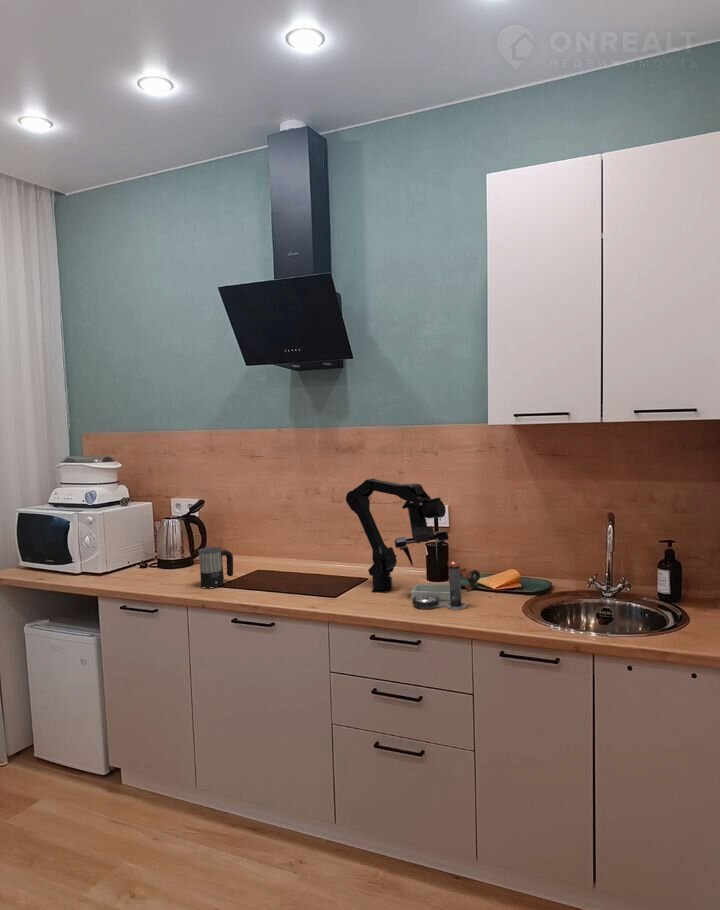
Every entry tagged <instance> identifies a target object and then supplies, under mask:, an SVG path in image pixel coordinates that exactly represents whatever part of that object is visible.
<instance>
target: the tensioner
mask: <svg viewBox="0 0 720 910" xmlns="http://www.w3.org/2000/svg"><path fill="white" fill-rule="evenodd" d="M411 601H412V605H414V606H415V608H418V609H423V610H428V609H434V608H445V609H447V610H452V611H455V610H457V611H460V610H463V609H466V608H467V603H466V602H463V601H461V606H459V607H452V606H450V601H447V602H440V601H439V597H436V596H433V595H421V596H417V597H414V598H413V600H411Z"/></svg>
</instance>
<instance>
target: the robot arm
mask: <svg viewBox="0 0 720 910" xmlns="http://www.w3.org/2000/svg"><path fill="white" fill-rule="evenodd" d="M374 492H379V493H383V494H389V495H393V496H396V497H399V499H401V500H403V501H405V502H404V504H403V505H402V506H401V508H402V509H407V511H408V518H409V523H410V524H409V525H410V529H411V535H412V537H410V538H406V537H405V536H403V537H398V538H397V537H396V538H395V539H394V547H395V548H396V549H399V550H400V551H401V550H403V552H404V554H405V555H406V557H407V559H408V561H409V563H410V565H411V566H414V565H413V564H414V563H413V559H412V557H411V553H410V550H409V547H408V545H409V544H420V543H428V542H430V541H433V540H434V541H435V551H436V552H435V553H436V554H435V555H436V561H437V562H439V561H440V554H441V549H442V546H443V544H445V543H446V541H449V540H450V539H449V534H448V531H446V530H440V531H435V532H434V527H433V525H431V526H428V523H427V519H437V518H443V517H444V516H445V515H446V513H447V512H446V505H445V504H444V502H443V501H442V500H441V497H435V498H431V497H430V495H429V494H428V493H427V492H426V491H425V489H424V487H423V486H422V484H421V483H402V484H401V483H397V482H390V481H385V480H382V479H381V480H379V479H376V478H368V479H365V480H364V481H363V482H362V483H361V484H359V485H358V486H357V487H355V488H354V489H352V490H349V491H348V492H347V494H346V497H345V501H346V503H347V505H348V507H349V508H350V509H351V510H352V511H353V513H354V514H356V515H357V517H358V519H359V522H360V525H361V526H362V529H363V530H364V531H363V532H364V533H365V535H366V538H367V540H368V542H369V545H370V548H371V550H372V559H371V560H372V563H373V564H372V565H371V566H370V567H369V568H368V574H369V576H372V577H371V578H372V590H371V592H373V593H390V591H391V590H392V589H393V588H394V587H393V577H392V575H391V573H393V572H394V569H395V567H396V566H397V562H398V561H397V557H398V555H396V554H395V551H394V548H393V547H392V546H391V547H388V546H387V545H386V544H385V541H384V540H383V538H382V536H381V533H380V531H379V529H378V526H377V523H376V521H375V519H374V517H373V514H372V512H371V510H370V505H371V504H370V502H371V501H370V497H371V496H372V495H373V493H374Z"/></svg>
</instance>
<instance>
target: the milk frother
mask: <svg viewBox="0 0 720 910" xmlns="http://www.w3.org/2000/svg"><path fill="white" fill-rule="evenodd" d="M197 552H198V557H199V558H198V560H199V572H200V573H199V574H200V586H201V587H206V588H210V587H218V586H221V585H223V584H225V582H224V579H225V578H224V566H223V556H225V557H226V575H227V576H228V577H233V575H234V555H233V553H232V552H231V551H229V550H226V549H222V547H220V546H211V547H210V546H208V547H204V548H200V549H198V550H197ZM223 586H224V585H223ZM201 587H200V588H201ZM221 587H222V586H221ZM218 588H219V587H218Z"/></svg>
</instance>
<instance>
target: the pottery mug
mask: <svg viewBox="0 0 720 910" xmlns="http://www.w3.org/2000/svg"><path fill="white" fill-rule="evenodd" d="M474 575H475V577H474ZM461 577H462V578H463V579H465V580H467V582H468V584H465V585H464V588H465V590H466V591H467V592H469V591H472V590H474V589H476V588H474V587H475V585H476V584H477V583H478V582H479V580H480V578H481V573H480V571H479V570H477V569H473V570H470V571H468V570H467V568H465V567H464V568H460V578H461ZM448 578H449V575H448ZM448 582H449V584H450V580H448ZM476 586H477V585H476Z"/></svg>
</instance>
